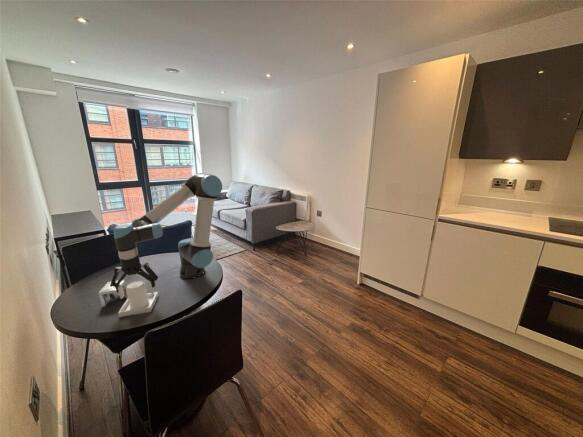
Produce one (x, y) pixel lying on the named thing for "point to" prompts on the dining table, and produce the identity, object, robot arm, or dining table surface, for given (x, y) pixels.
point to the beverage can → (137, 294)
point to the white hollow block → (110, 293)
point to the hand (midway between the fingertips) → (138, 294)
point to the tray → (128, 311)
